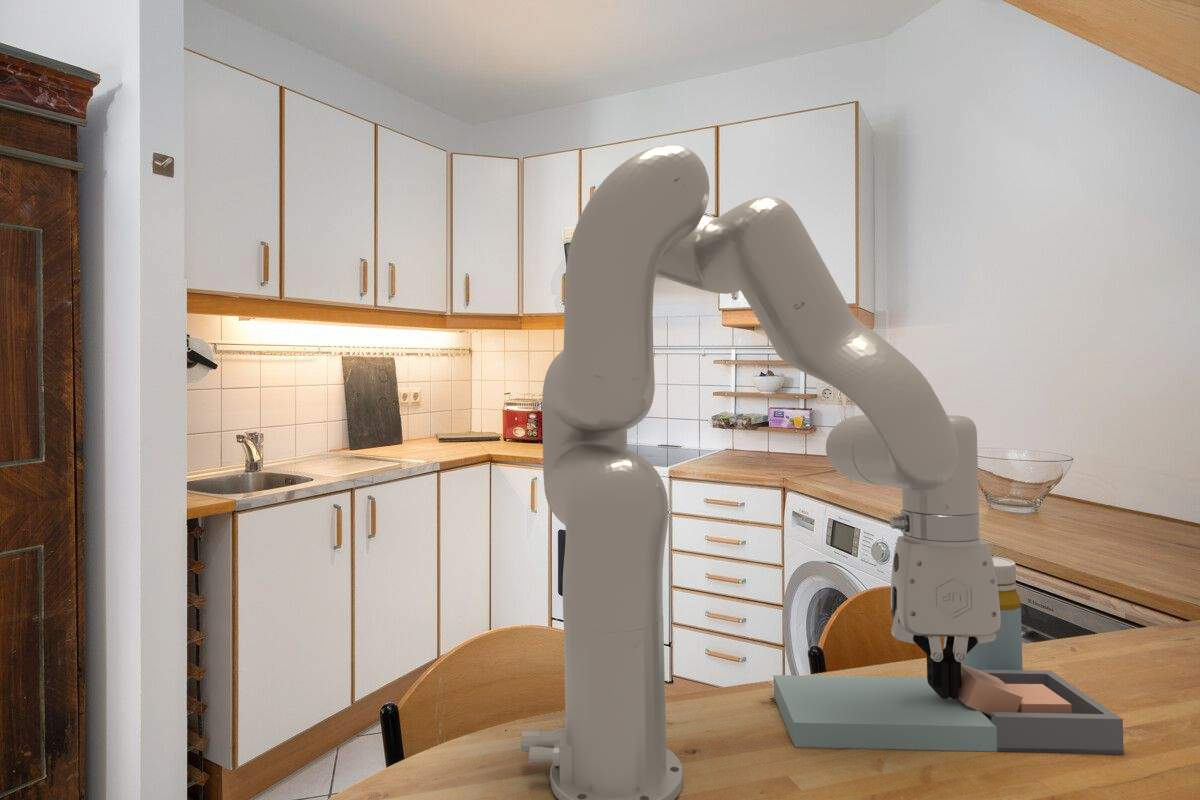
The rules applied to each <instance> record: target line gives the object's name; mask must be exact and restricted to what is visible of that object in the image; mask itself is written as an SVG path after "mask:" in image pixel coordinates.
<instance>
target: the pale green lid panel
mask: <svg viewBox="0 0 1200 800" xmlns="http://www.w3.org/2000/svg"><path fill="white" fill-rule="evenodd" d="M772 676H773V677H772V678H773V697H774V699H775V702H776V705H777V707H778V710H779V712H780V715H781V716H782V720H783V721H784V722H783V723H784V725H785V727H786V729H787V732H788V735H789V736H790V739H791V742H792V744H793V747H794V748H827V749H829V748H830V749H831V748H833V749H869V750H870V749H871V750H874V749H875V750H880V749H881V750H909V751H910V750H911V751H912V750H913V751H916V750H918V751H921V750H922V751H951V752H952V751H957V752H958V751H961V752H966V751H967V752H997V727H996V726H995V725H994V724H993V723H992V722H991V721H990V720H989V719H988V718H987V717H986V716H985V715H984V714H983V713H982V712H980V711H979V710H976V709H973V708H971V707H968V706H966V705H965V704H964V703H963V702H962V701H961V700H960V699H959V698H958V699H952V698H951V697H948V699H942V698H941V697H940V696H939V695H938V694H937V693H936V692H935V691H934V690H933V689H932V687H931V686H930V685H929V684H928V680H927V676H923V677H922V676H872V675H871V676H870V675H869V676H863V675H862V676H857V675H856V676H855V675H854V676H853V675H846V676H845V675H793V674H791V675H790V674H788V675H787V674H781V675H780V674H773V675H772Z"/></svg>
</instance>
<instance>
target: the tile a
mask: <svg viewBox="0 0 1200 800" xmlns="http://www.w3.org/2000/svg"><path fill="white" fill-rule="evenodd" d="M958 698H959V699H960V700H961V701H962V702H963V703H964V704H965V705H966V706H968V707H971V708H973V709H976V710H979V711H981V712H984V713H986V714H989V715H991V712H1013V713H1017V711H1018V709H1019V706H1020V703H1021V701H1022V698H1023V697H1022V696H1020V695H1019V694H1018V693H1017V692H1015V691H1014V690H1013V689H1011V688H1010V687H1009V686H1008V685H1006V684H1005V683H1004V682H1003V681H1001V680H1000V679H999V678H997V677H995V676H992V675H990V674H987V673H984V672H982V671H979V670H977V669H974V668H971V667H969V666H966V665H964V664H961V688H958Z"/></svg>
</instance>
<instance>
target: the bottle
mask: <svg viewBox="0 0 1200 800" xmlns="http://www.w3.org/2000/svg"><path fill="white" fill-rule="evenodd" d="M992 559H993V563H994V568H995V573H996V579H997V586H998V594H999V604H1000V619H1001V622H1000V629H999V631H998V632H997V633H996V639H995V640H994V641H991V642H986V643H982V644H976V645H975V646H974V647H973V648H972V649H971V650H970V651H969V652H968V653H967V654H966V659H965V660H964V661H963V662H961V664H964V665H966V666H969V667H971V668H974V669H977V670H1023V669H1024V668H1023V642H1022V641H1023V639H1022V638H1023V635H1022V605H1021V599H1020V596H1019V594H1018V591H1017V582H1016V580H1017V564H1016V562H1015V561H1014V560H1012V559H1009V558H1006V557H1005V558H1004V557H1000V556H994V555H992Z"/></svg>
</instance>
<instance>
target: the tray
mask: <svg viewBox="0 0 1200 800" xmlns="http://www.w3.org/2000/svg"><path fill="white" fill-rule="evenodd" d="M979 671H982V672H984V673H987V674H990V675H992V676H995V677H997V678H999V679H1000V680H1001V681H1003V682H1004V683H1005V684H1043V685H1045V686H1046V687H1047V688H1049V689H1050V690H1052V691H1053V692H1055V693H1056V694H1057V695H1059V696H1060V697H1062V698H1063V699H1065V700H1066V701H1067V702H1069V703H1070V704H1071V708H1072V714H1067V713H1013V712H991V715H989V714H986V713H984V712H982V713H983V714H984V715H985V716H986V717H987V718H988V719H989V720H990V721H991V722H992V723H993V724H994V725H995V726H996V727H997V752H1000V753H1001V752H1002V753H1044V754H1046V753H1047V754H1082V755H1083V754H1087V755H1088V754H1089V755H1091V754H1092V755H1093V754H1094V755H1124V753H1125V752H1124V747H1125V746H1124V721H1123V719H1124V718H1122V717H1120V716H1118V715H1117V714H1116V713H1114V712H1113V711H1112V710H1110V709H1109V708H1107V707H1106V706H1104V705H1103V704H1101V703H1099V702H1098V701H1096V700H1095V699H1094V698H1092V697H1090V696H1089V695H1088V694H1087V693H1085V692H1083V691H1082V690H1080V689H1079V688H1077V687H1076V686H1075V685H1073V684H1072V683H1070V682H1068V681H1067V680H1065V679H1064V678H1063V677H1061V676H1059V675H1058V674H1056V672H1053V671H1052V670H1045V669H1044V670H1043V669H1042V670H1040V669H1039V670H1036V669H1034V670H1033V669H1032V670H1031V669H1024V670H979ZM980 712H981V711H980Z"/></svg>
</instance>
